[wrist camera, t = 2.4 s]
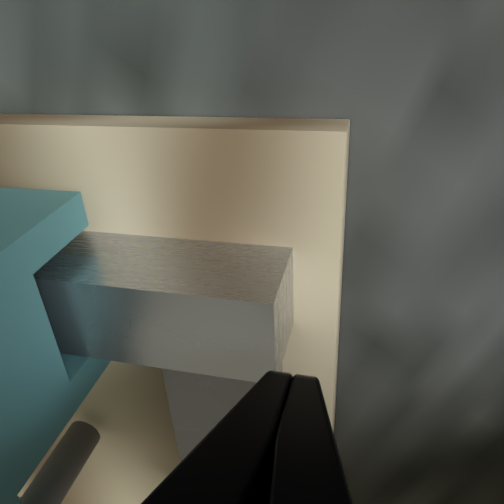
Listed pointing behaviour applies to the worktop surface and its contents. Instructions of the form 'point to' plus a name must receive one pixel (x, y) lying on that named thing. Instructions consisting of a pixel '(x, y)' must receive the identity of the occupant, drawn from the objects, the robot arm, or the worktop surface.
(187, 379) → the fixed leg
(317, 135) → the template board
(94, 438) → the sliding leg
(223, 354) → the rail
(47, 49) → the worktop surface
